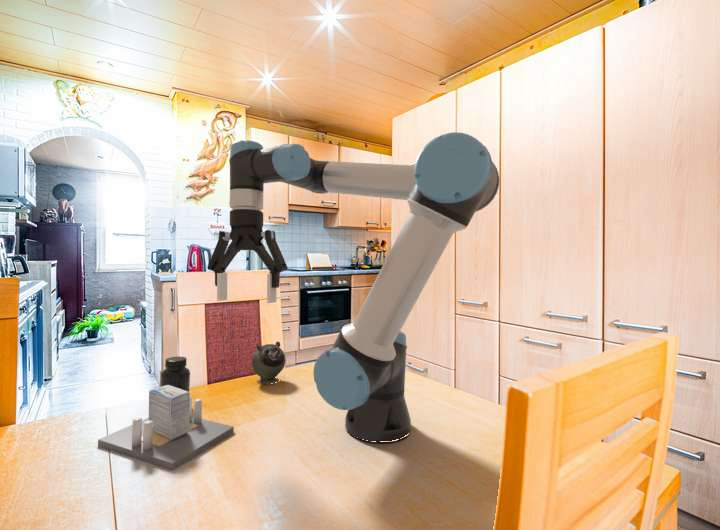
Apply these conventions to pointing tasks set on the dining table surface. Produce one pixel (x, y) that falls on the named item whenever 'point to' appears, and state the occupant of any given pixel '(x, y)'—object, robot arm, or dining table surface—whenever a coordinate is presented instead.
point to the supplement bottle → (176, 373)
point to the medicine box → (169, 411)
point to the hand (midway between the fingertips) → (246, 301)
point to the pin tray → (167, 440)
